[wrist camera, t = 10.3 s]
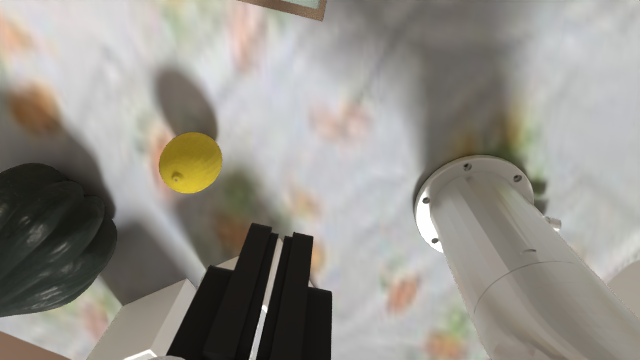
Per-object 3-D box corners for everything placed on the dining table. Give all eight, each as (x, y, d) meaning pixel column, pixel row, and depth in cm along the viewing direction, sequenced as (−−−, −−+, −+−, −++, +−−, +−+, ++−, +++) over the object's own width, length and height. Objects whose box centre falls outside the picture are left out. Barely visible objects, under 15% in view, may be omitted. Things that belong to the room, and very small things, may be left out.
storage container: (280, 237, 45) (264, 304, 35) (322, 298, 49) (319, 374, 39) (123, 304, 51) (73, 378, 41) (173, 354, 55) (138, 432, 45)
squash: (66, 144, 34) (-143, 254, 26) (157, 261, 41) (11, 377, 33) (45, 143, 45) (-110, 221, 37) (120, 237, 51) (2, 320, 43)
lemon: (190, 112, 38) (157, 139, 31) (239, 139, 39) (217, 171, 32) (171, 154, 40) (136, 189, 33) (217, 179, 42) (193, 217, 34)
